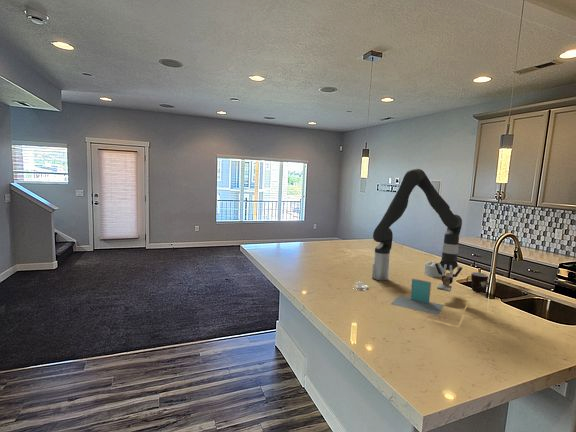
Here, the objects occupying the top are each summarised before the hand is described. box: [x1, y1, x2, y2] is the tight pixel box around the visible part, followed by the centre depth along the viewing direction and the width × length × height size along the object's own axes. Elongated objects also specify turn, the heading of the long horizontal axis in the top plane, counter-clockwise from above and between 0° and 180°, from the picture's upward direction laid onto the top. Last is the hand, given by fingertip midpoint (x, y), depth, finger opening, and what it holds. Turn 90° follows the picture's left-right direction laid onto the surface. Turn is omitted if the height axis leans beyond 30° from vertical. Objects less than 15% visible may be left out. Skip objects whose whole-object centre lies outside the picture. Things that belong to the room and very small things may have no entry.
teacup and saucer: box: [352, 280, 369, 291], centre depth 185 cm, size 9×8×4 cm
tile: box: [410, 278, 432, 303], centre depth 165 cm, size 9×2×11 cm, turn 55°
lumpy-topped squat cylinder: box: [423, 260, 443, 278], centre depth 218 cm, size 10×13×9 cm
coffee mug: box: [465, 271, 489, 294], centre depth 187 cm, size 12×9×10 cm
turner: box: [436, 272, 453, 292], centre depth 171 cm, size 6×18×4 cm, turn 146°
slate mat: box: [390, 294, 444, 316], centre depth 160 cm, size 22×16×1 cm
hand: (446, 282), depth 172 cm, fingers closed on turner, 2 cm apart
